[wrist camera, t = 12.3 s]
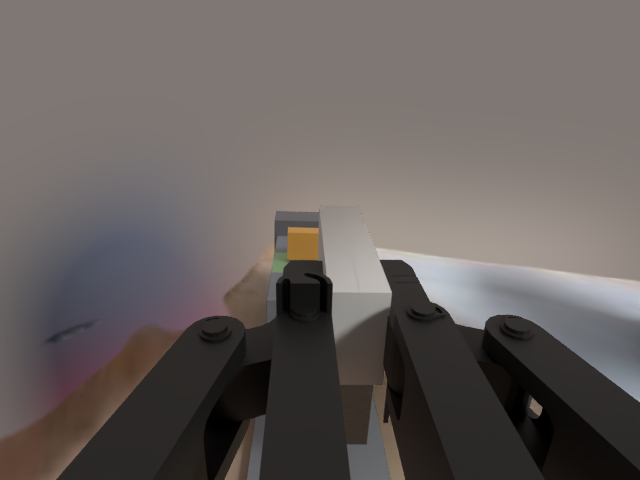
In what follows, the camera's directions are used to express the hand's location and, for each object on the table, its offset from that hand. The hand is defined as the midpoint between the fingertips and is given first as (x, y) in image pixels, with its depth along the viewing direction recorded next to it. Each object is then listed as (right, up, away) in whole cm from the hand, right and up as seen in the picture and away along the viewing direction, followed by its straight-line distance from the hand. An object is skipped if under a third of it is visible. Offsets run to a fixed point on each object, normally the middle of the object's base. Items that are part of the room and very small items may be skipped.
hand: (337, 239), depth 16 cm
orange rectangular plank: (-1, -2, +29) cm, 29 cm away
